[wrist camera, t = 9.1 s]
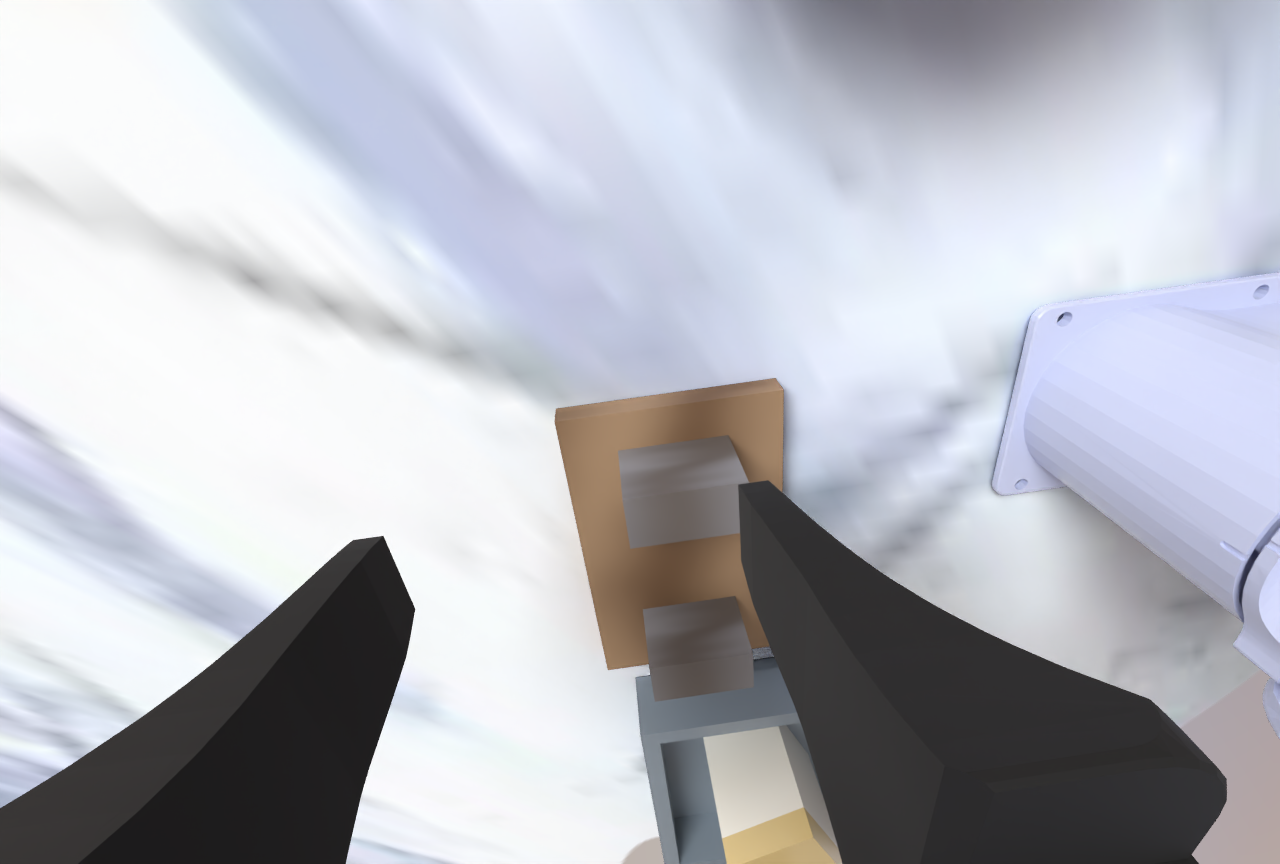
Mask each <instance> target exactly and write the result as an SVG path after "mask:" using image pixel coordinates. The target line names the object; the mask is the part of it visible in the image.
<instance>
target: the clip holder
mask: <svg viewBox="0 0 1280 864" xmlns="http://www.w3.org/2000/svg"><path fill="white" fill-rule="evenodd" d="M783 400H784V390H783V388H782V387H781V385H780V384H779V383H778V381H777V380H776V378H773V379H766V380H759V381H752V382H745V383H737V384H730V385H723V386H716V387H709V388H702V389H694V390H687V391H680V392H673V393H666V394H659V395H651V396H644V397H637V398H630V399H623V400H616V401H608V402H601V403H594V404H587V405H580V406H573V407H565V408H558V409H556V414H555V426H556V430H557V435H558V440H559V444H560V449H561V454H562V458H563V463H564V468H565V472H566V477H567V482H568V486H569V491H570V496H571V500H572V505H573V510H574V514H575V519H576V524H577V528H578V533H579V538H580V542H581V547H582V552H583V556H584V561H585V566H586V570H587V575H588V580H589V584H590V589H591V594H592V598H593V603H594V608H595V612H596V617H597V622H598V626H599V631H600V636H601V640H602V645H603V650H604V654H605V659H606V664H607V668H608V670H612V669H619V668H626V667H633V666H639V665H646V664H649V669H650V675H651V681H652V687H653V694H654V700H655V702H658V701H664V700H671V699H678V698H685V697H691V696H698V695H705V694H712V693H718V692H725V691H732V690H739V689H745V688H752V687H754V671H753V652H752V649H755V648H762V647H769V646H770V645H769V643H768V640H767V638H766V635H765V633H764V631H763V628H762V626H761V623H760V621H759V618H758V616H757V613H756V611H755V608H754V606H753V602H752V599H751V595H750V592H749V588H748V585H747V581H746V577H745V574H744V570H743V566H742V562H741V545H740V519H739V493H738V485H739V484H745V483H752V482H759V481H766V480H768V481H770V482H771V483H772V484H773V485H775V486H776V487H777V488H778V489H779V490H780V491H781V492H782V489H783Z"/></svg>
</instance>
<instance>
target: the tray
mask: <svg viewBox="0 0 1280 864" xmlns="http://www.w3.org/2000/svg"><path fill="white" fill-rule="evenodd" d="M753 671H754V687H752V688H745V689H739V690H732V691H725V692H718V693H712V694H705V695H698V696H691V697H685V698H678V699H671V700H664V701H658V702H655V700H654V694H653V687H652V681H651V676H644V677H637V678H636V689H637V700H638V712H639V723H640V735H641V741H642V746H643V751H644V757H645V762H646V767H647V773H648V778H649V783H650V789H651V794H652V799H653V804H654V810H655V815H656V820H657V826H658V831H659V836H660V841H661V847H662V852H663V858H664V863H665V864H727V862H726V857H725V851H724V846H723V841H722V835H721V830H720V825H719V819H718V814H717V809H716V803H715V798H714V793H713V787H712V782H711V777H710V771H709V766H708V761H707V755H706V750H705V745H704V739H703V737H709V736H716V735H723V734H729V733H736V732H743V731H750V730H756V729H763V728H770V727H776V726H783V725H786V726H787V727H788V728H789V730H790V731H791V732H792V734H793V735H794V736H795V738H796V739H797V740H798V741H799V743H800V744H801V745H802V747H803V748H804V749H805V751H806V752H807V753H808V755H809V758H810V761H811V764H812V767H813V769H814V772H815V775H816V778H817V781H818V784H819V780H818V777H817V774H816V771H815V767H814V764H813V761H812V758H811V754H810V751H809V748H808V744H807V741H806V738H805V735H804V731H803V728H802V725H801V723H800V720H799V717H798V714H797V712H796V709H795V706H794V704H793V701H792V699H791V696H790V694H789V691H788V689H787V687H786V684H785V682H784V679H783V677H782V674H781V672H780V670H779V667H778V665H777V662H776V660H775V657H773V658H766V659H760V660H753ZM819 787H820V784H819ZM820 790H821V787H820ZM821 793H822V791H821ZM822 795H823V794H822Z"/></svg>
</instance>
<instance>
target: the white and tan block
mask: <svg viewBox="0 0 1280 864" xmlns="http://www.w3.org/2000/svg"><path fill="white" fill-rule="evenodd" d="M703 739H704V745H705V750H706V755H707V761H708V766H709V771H710V777H711V782H712V787H713V793H714V798H715V803H716V809H717V814H718V819H719V825H720V830H721V835H722V841H723V846H724V851H725V857H726V862H727V864H842V860H841V857H840V853H839V849H838V846H837V842H836V839H835V835H834V832H833V828H832V825H831V822H830V818H829V815H828V811H827V808H826V804H825V801H824V798H823V795H822V793H821V790H820V787H819V784H818V781H817V778H816V775H815V772H814V769H813V767H812V764H811V761H810V758H809V755H808V753H807V752H806V751H805V749H804V748H803V747H802V745H801V744H800V743H799V741H798V740H797V739H796V738H795V736H794V735H793V734H792V732H791V731H790V730H789V728H788V727H787V726H786V725H783V726H776V727H770V728H763V729H756V730H750V731H743V732H736V733H729V734H723V735H716V736H709V737H703Z"/></svg>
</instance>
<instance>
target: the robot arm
mask: <svg viewBox="0 0 1280 864" xmlns="http://www.w3.org/2000/svg"><path fill="white" fill-rule="evenodd" d="M1062 313H1064V316H1063V318H1062V319H1061V320H1060V321H1059V322H1057V320H1058V318H1059V316H1060V315H1061V314H1062ZM1019 480H1020V481H1019ZM1018 481H1019V482H1018ZM1016 482H1018V483H1016ZM1067 486H1068V487H1069V488H1070V489H1072V490H1073V491H1074V492H1076V493H1077V494H1078V495H1079V496H1081V497H1082V498H1083V499H1085V500H1086V501H1087V502H1088V503H1090V504H1091V505H1092V506H1094V507H1095V508H1096V509H1098V510H1099V511H1100V512H1101V513H1103V514H1104V515H1105V516H1107V517H1108V518H1109V519H1110V520H1112V521H1113V522H1114V523H1116V524H1117V525H1118V526H1119V527H1121V528H1122V529H1123V530H1125V531H1126V532H1127V533H1128V534H1130V535H1131V536H1132V537H1134V538H1135V539H1136V540H1138V541H1139V542H1140V543H1141V544H1143V545H1144V546H1145V547H1147V548H1148V549H1149V550H1150V551H1152V552H1153V553H1154V554H1156V555H1157V556H1158V557H1159V558H1161V559H1162V560H1163V561H1165V562H1166V563H1167V564H1168V565H1170V566H1171V567H1172V568H1174V569H1175V570H1176V571H1178V572H1179V573H1180V574H1181V575H1183V576H1184V577H1185V578H1187V579H1188V580H1189V581H1190V582H1192V583H1193V584H1194V585H1196V586H1197V587H1198V588H1199V589H1201V590H1202V591H1203V592H1205V593H1206V594H1207V595H1209V596H1210V597H1211V598H1212V599H1214V600H1215V601H1216V602H1218V603H1219V604H1220V605H1221V606H1223V607H1224V608H1225V609H1227V610H1228V611H1229V612H1230V613H1232V614H1233V615H1234V616H1236V617H1237V618H1238V619H1239V620H1241V621H1242V622H1243V623H1244V625H1243V628H1242V630H1241V632H1240V634H1239V636H1238V637H1237V639H1236V640H1235V641H1234V643H1233V647H1234V648H1236V649H1237V650H1238V651H1239V652H1240V653H1242V654H1243V655H1244V656H1245V657H1247V658H1248V659H1249V660H1250V661H1251V662H1253V663H1254V664H1255V665H1256V666H1257V667H1259V668H1260V669H1261V670H1262V671H1264V672H1265V673H1266V674H1267V675H1268V676H1270V677H1271V678H1270V679H1269V680H1268V681H1267V683H1266V686H1265V688H1264V691H1263V706H1264V709H1265V712H1266V715H1267V718H1268V720H1269V722H1270V724H1271V726H1272V727H1273V729H1274V731H1275V733H1276V734H1277V736H1278V738H1279V739H1280V272H1277V273H1270V274H1262V275H1255V276H1248V277H1241V278H1233V279H1226V280H1219V281H1212V282H1205V283H1197V284H1190V285H1183V286H1176V287H1168V288H1161V289H1154V290H1147V291H1140V292H1132V293H1125V294H1118V295H1111V296H1103V297H1096V298H1089V299H1082V300H1075V301H1067V302H1060V303H1053V304H1046V305H1043V306H1041V307H1039V308H1038V309H1036V310H1035V312H1034V313H1033V314H1032V316H1031V318H1030V321H1029V325H1028V329H1027V334H1026V338H1025V342H1024V347H1023V351H1022V355H1021V360H1020V364H1019V368H1018V373H1017V377H1016V381H1015V386H1014V390H1013V394H1012V399H1011V403H1010V407H1009V412H1008V416H1007V420H1006V424H1005V429H1004V433H1003V437H1002V442H1001V446H1000V450H999V455H998V459H997V463H996V468H995V472H994V476H993V481H992V487H993V489H994V490H995V491H996V492H997V493H998V494H1000V495H1012V494H1019V493H1026V492H1033V491H1040V490H1047V489H1054V488H1061V487H1067ZM738 493H739V519H740V545H741V562H742V566H743V570H744V574H745V577H746V581H747V585H748V588H749V592H750V595H751V599H752V602H753V606H754V608H755V611H756V613H757V616H758V618H759V621H760V623H761V626H762V628H763V631H764V633H765V635H766V638H767V640H768V643H769V645H770V648H771V650H772V653H773V655H774V657H775V660H776V662H777V665H778V667H779V670H780V672H781V674H782V677H783V679H784V682H785V684H786V687H787V689H788V691H789V694H790V696H791V699H792V701H793V704H794V706H795V709H796V712H797V714H798V717H799V720H800V723H801V725H802V728H803V731H804V735H805V738H806V741H807V744H808V748H809V751H810V754H811V758H812V761H813V764H814V767H815V771H816V774H817V777H818V780H819V784H820V787H821V791H822V794H823V798H824V801H825V804H826V808H827V811H828V815H829V818H830V822H831V825H832V828H833V832H834V835H835V839H836V842H837V846H838V849H839V853H840V857H841V860H842V864H1199V863H1198V862H1197V861H1196V860H1195V858H1194V857H1193V856H1192V855H1191V854H1192V853H1193V851H1194V850H1195V848H1196V847H1197V846H1198V844H1199V843H1200V841H1201V840H1202V839H1203V837H1204V836H1205V835H1206V833H1207V832H1208V831H1209V829H1210V828H1211V826H1212V825H1213V824H1214V822H1215V821H1216V819H1217V818H1218V817H1219V815H1220V813H1221V811H1222V809H1223V807H1224V805H1225V803H1226V800H1227V784H1226V778H1225V776H1224V775H1223V774H1222V773H1221V771H1220V770H1219V769H1218V768H1217V767H1216V765H1215V764H1214V763H1213V762H1212V761H1211V760H1210V759H1209V758H1208V757H1207V756H1206V755H1205V754H1204V753H1203V752H1202V751H1201V750H1200V749H1199V748H1198V747H1197V746H1196V744H1194V742H1193V741H1192V740H1191V739H1190V738H1189V737H1188V736H1187V735H1186V734H1185V733H1184V732H1183V731H1182V730H1181V729H1180V728H1179V727H1178V726H1177V725H1176V724H1175V723H1174V722H1173V721H1172V720H1171V719H1170V718H1169V717H1168V716H1167V715H1166V714H1165V713H1164V712H1163V711H1162V710H1161V709H1160V708H1159V707H1158V706H1157V705H1155V704H1154V703H1153V702H1152V701H1151V700H1150V699H1147V698H1145V697H1142V696H1139V695H1137V694H1134V693H1131V692H1129V691H1126V690H1123V689H1121V688H1118V687H1115V686H1113V685H1110V684H1107V683H1105V682H1102V681H1099V680H1097V679H1094V678H1091V677H1089V676H1086V675H1083V674H1081V673H1078V672H1075V671H1073V670H1070V669H1067V668H1065V667H1063V666H1060V665H1058V664H1055V663H1053V662H1051V661H1048V660H1046V659H1044V658H1041V657H1039V656H1037V655H1035V654H1032V653H1030V652H1028V651H1025V650H1023V649H1021V648H1018V647H1016V646H1014V645H1012V644H1010V643H1008V642H1005V641H1003V640H1001V639H999V638H997V637H995V636H993V635H991V634H988V633H986V632H984V631H982V630H980V629H978V628H977V627H975V626H973V625H971V624H969V623H967V622H965V621H963V620H961V619H959V618H957V617H955V616H953V615H951V614H949V613H948V612H946V611H944V610H942V609H940V608H938V607H937V606H935V605H933V604H931V603H930V602H928V601H926V600H924V599H923V598H921V597H919V596H918V595H916V594H915V593H913V592H911V591H910V590H908V589H906V588H905V587H903V586H901V585H900V584H898V583H897V582H895V581H893V580H892V579H890V578H889V577H887V576H886V575H884V574H883V573H881V572H880V571H878V570H877V569H875V568H874V567H872V566H871V565H870V564H868V563H867V562H866V561H864V560H863V559H861V558H860V557H859V556H857V555H856V554H855V553H853V552H852V551H851V550H849V549H848V548H847V547H845V546H844V545H843V544H842V543H840V542H839V541H838V540H837V539H835V538H834V537H833V536H832V535H831V534H829V533H828V532H827V531H826V530H824V529H823V528H822V527H821V526H819V525H818V524H817V523H816V522H815V521H814V520H812V519H811V518H810V517H809V516H808V515H807V514H806V513H804V512H803V511H802V510H801V509H800V508H799V507H798V506H796V505H795V504H794V503H793V502H792V501H791V500H790V499H789V498H788V497H787V496H785V495H784V494H783V493H782V492H781V491H780V490H779V489H778V488H777V487H776V486H775V485H773V484H772V483H771V482H770V481H768V480H766V481H759V482H752V483H745V484H739V485H738ZM414 612H415V608H414V605H413V603H412V601H411V598H410V596H409V594H408V592H407V589H406V587H405V585H404V582H403V580H402V578H401V576H400V573H399V571H398V569H397V566H396V564H395V562H394V559H393V557H392V555H391V553H390V550H389V548H388V546H387V543H386V541H385V539H384V537H383V536H379V537H372V538H366V539H359V540H353V541H352V542H350V543H349V544H348V545H347V546H345V547H344V548H343V549H342V550H341V551H339V552H338V553H337V554H336V555H335V556H334V557H333V558H331V559H330V560H329V561H328V562H327V563H326V564H325V565H324V566H323V567H322V568H320V569H319V570H318V571H317V572H316V573H315V574H314V575H313V576H312V577H311V578H310V579H308V580H307V581H306V582H305V583H304V584H303V585H302V586H301V587H300V588H299V589H298V590H296V591H295V592H294V593H293V594H292V595H291V596H290V597H289V598H288V599H287V600H285V601H284V602H283V603H282V604H281V605H280V606H279V607H278V608H277V609H276V610H274V611H273V612H272V613H271V614H270V615H269V616H268V617H267V618H266V619H264V620H263V621H262V622H261V623H260V624H259V625H257V626H256V627H255V628H254V629H253V630H252V631H250V632H249V633H248V634H247V635H246V636H245V637H243V638H242V639H241V640H240V641H239V642H237V643H236V644H235V645H234V646H233V647H232V648H230V649H229V650H228V651H227V652H226V653H225V654H223V655H222V656H221V657H220V658H219V659H218V660H216V661H215V662H214V663H213V664H211V665H210V666H209V667H208V668H206V669H205V670H204V671H203V672H201V673H200V674H199V675H198V676H196V677H195V678H194V679H192V680H191V681H190V682H189V683H187V684H186V685H185V686H183V687H182V688H181V689H179V690H178V691H177V692H175V693H174V694H173V695H171V696H170V697H169V698H167V699H166V700H165V701H163V702H162V703H161V704H159V705H158V706H157V707H155V708H154V709H153V710H151V711H150V712H148V713H147V714H146V715H144V716H143V717H141V718H140V719H139V720H137V721H136V722H134V723H133V724H131V725H130V726H128V727H127V728H125V729H124V730H122V731H121V732H119V733H118V734H116V735H115V736H113V737H112V738H110V739H109V740H107V741H106V742H104V743H103V744H101V745H100V746H98V747H97V748H95V749H94V750H92V751H91V752H89V753H88V754H86V755H85V756H83V757H82V758H81V759H79V760H78V761H76V762H75V763H73V764H72V765H70V766H68V767H67V768H65V769H64V770H62V771H61V772H59V773H57V774H56V775H54V776H53V777H51V778H49V779H48V780H46V781H44V782H43V783H41V784H40V785H38V786H36V787H35V788H33V789H32V790H30V791H28V792H27V793H25V794H23V795H22V796H20V797H18V798H17V799H15V800H13V801H12V802H10V803H8V804H7V805H5V806H3V807H2V808H0V864H346V859H347V854H348V850H349V845H350V841H351V837H352V832H353V828H354V824H355V820H356V815H357V811H358V807H359V802H360V798H361V794H362V791H363V787H364V784H365V780H366V777H367V774H368V770H369V767H370V764H371V761H372V758H373V755H374V752H375V749H376V746H377V743H378V740H379V737H380V734H381V731H382V728H383V726H384V723H385V720H386V717H387V714H388V711H389V708H390V705H391V702H392V699H393V696H394V693H395V690H396V687H397V684H398V681H399V678H400V675H401V672H402V668H403V665H404V662H405V659H406V655H407V650H408V645H409V641H410V636H411V630H412V624H413V618H414Z"/></svg>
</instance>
